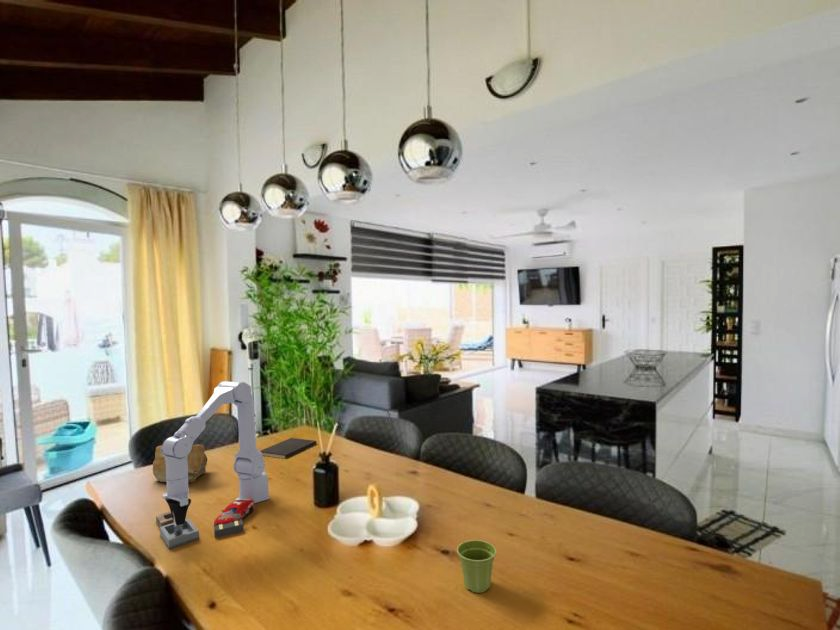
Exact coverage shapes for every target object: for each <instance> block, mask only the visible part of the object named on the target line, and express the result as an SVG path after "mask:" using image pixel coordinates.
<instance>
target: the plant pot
mask: <svg viewBox="0 0 840 630" xmlns="http://www.w3.org/2000/svg"><path fill="white" fill-rule="evenodd" d="M456 553H457V555H458V558H459V560H460V565H461V570H462V575H463V582H464V586H465V588H466V589H467V590H470V592H472V593H477V594H478V593H479V594H480V593H485V592H487V590H489V589H490V588H491V580H492V572H493V563H494V560H495V557H496V555H497V549H496V547H495V546H494V545H493V544H492V543H490V542H488V541H485V540H480V539H471V540H465V541H463V542H461V543H459V545H457V547H456Z"/></svg>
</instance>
